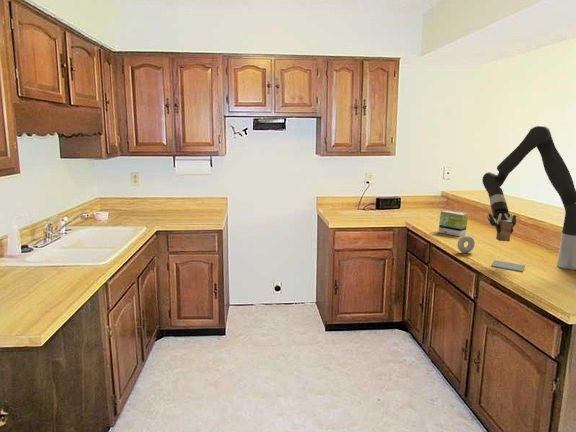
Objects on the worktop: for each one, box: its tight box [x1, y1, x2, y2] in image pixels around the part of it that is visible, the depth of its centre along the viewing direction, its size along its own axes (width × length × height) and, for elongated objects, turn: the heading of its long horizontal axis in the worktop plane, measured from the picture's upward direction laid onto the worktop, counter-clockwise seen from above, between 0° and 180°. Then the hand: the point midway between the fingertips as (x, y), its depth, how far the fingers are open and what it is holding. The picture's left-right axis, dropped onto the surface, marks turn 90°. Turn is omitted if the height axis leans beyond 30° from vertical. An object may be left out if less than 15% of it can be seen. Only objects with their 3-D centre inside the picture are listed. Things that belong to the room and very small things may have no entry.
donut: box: [456, 234, 476, 254], centre depth 239 cm, size 10×4×10 cm, turn 102°
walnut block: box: [495, 220, 512, 242], centre depth 218 cm, size 4×5×10 cm
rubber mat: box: [490, 259, 526, 273], centre depth 216 cm, size 14×12×1 cm
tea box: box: [438, 209, 469, 237], centre depth 289 cm, size 15×10×15 cm
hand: (505, 232), depth 216 cm, fingers closed on walnut block, 5 cm apart
